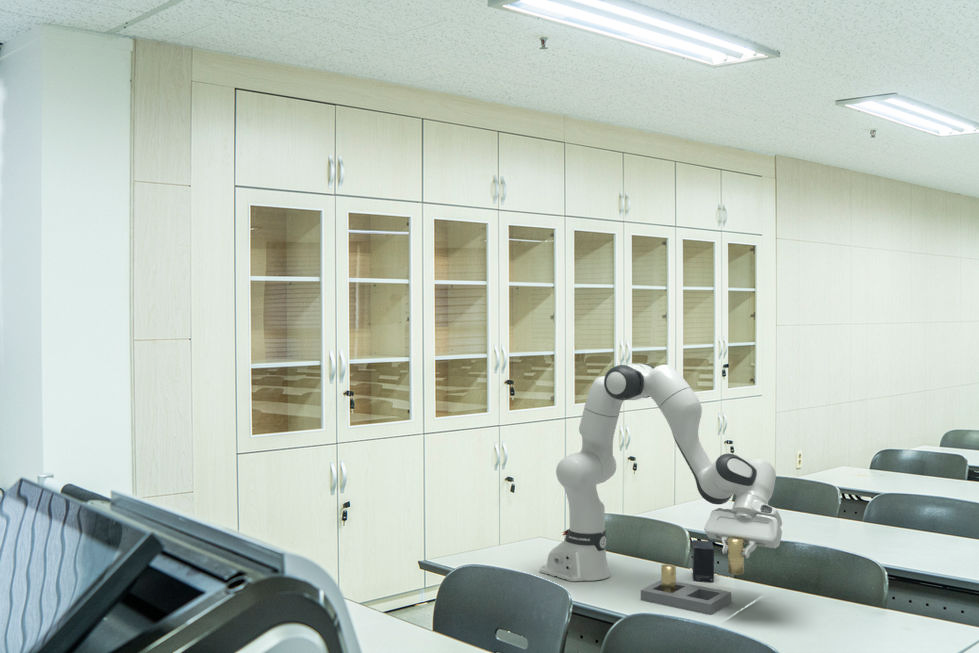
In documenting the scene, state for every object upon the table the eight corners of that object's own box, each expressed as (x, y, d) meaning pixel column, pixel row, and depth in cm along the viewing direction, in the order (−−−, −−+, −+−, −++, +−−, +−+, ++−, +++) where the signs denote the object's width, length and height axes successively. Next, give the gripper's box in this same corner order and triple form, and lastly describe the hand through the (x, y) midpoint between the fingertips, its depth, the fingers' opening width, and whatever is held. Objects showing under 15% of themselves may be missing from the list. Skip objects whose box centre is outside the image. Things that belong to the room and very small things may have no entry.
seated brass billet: (659, 597, 246) (658, 566, 246) (665, 594, 249) (665, 563, 249) (671, 600, 243) (671, 568, 243) (678, 597, 246) (678, 565, 247)
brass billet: (725, 573, 229) (725, 539, 229) (731, 569, 232) (731, 536, 233) (740, 575, 227) (740, 541, 227) (746, 572, 230) (745, 538, 230)
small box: (714, 582, 264) (714, 548, 264) (693, 581, 265) (692, 547, 265) (713, 573, 274) (712, 540, 274) (692, 572, 275) (691, 539, 275)
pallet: (640, 602, 244) (640, 590, 244) (663, 591, 255) (663, 579, 255) (710, 617, 231) (710, 604, 231) (731, 604, 242) (731, 592, 242)
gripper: (709, 500, 242) (694, 542, 234) (782, 509, 229) (769, 554, 221) (716, 514, 245) (701, 555, 237) (788, 523, 232) (775, 567, 225)
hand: (734, 554), depth 229 cm, fingers closed on brass billet, 4 cm apart
